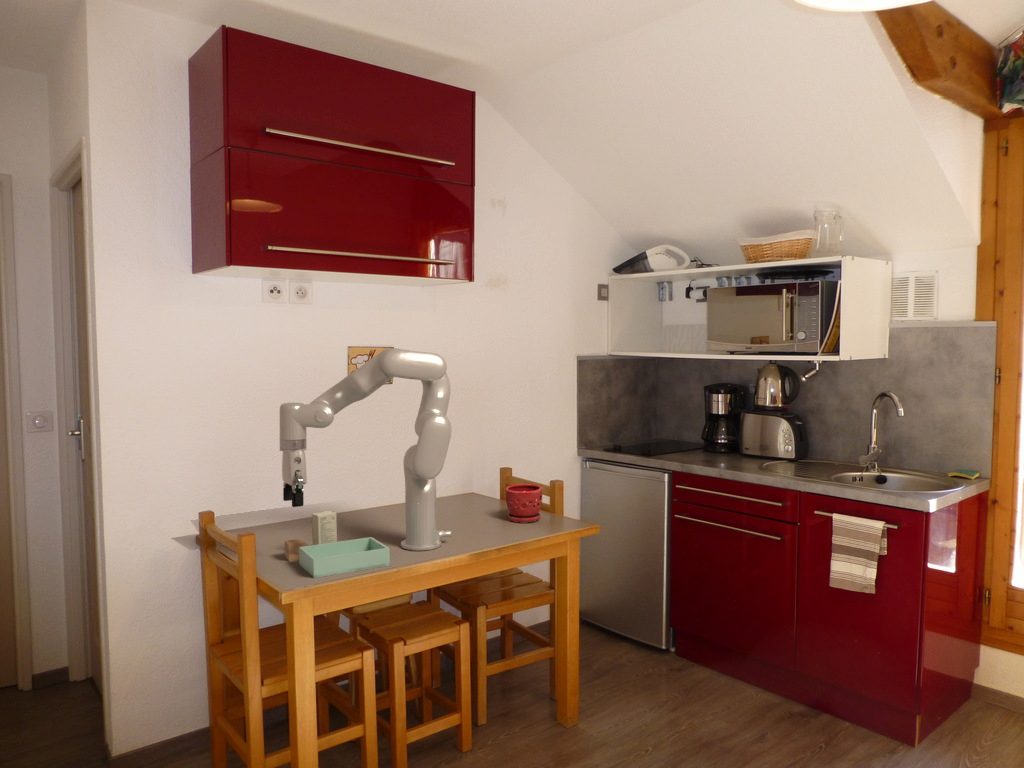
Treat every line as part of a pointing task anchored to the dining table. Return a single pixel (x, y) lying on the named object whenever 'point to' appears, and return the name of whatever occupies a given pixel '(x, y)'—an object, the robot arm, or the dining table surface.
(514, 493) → the plant pot
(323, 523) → the skincare box
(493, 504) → the dining table surface
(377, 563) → the tote
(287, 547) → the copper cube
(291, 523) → the dining table surface
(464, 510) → the dining table surface
